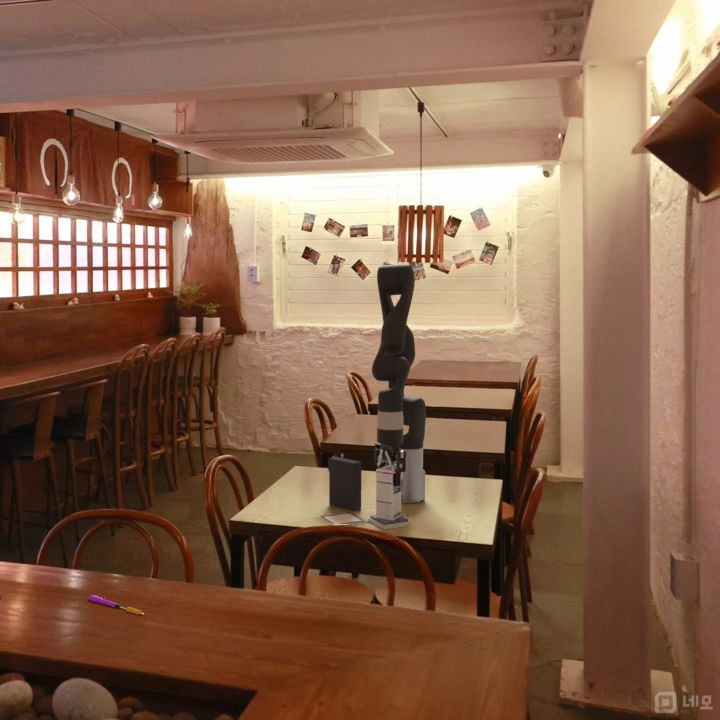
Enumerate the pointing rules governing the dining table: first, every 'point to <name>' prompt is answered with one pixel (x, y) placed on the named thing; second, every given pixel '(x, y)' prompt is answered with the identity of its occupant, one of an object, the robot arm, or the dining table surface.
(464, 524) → the dining table surface
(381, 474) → the syrup box
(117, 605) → the purple and yellow stick
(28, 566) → the dining table surface
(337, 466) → the dark grey upright block
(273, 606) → the dining table surface
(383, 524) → the ink pad
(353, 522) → the marked card
